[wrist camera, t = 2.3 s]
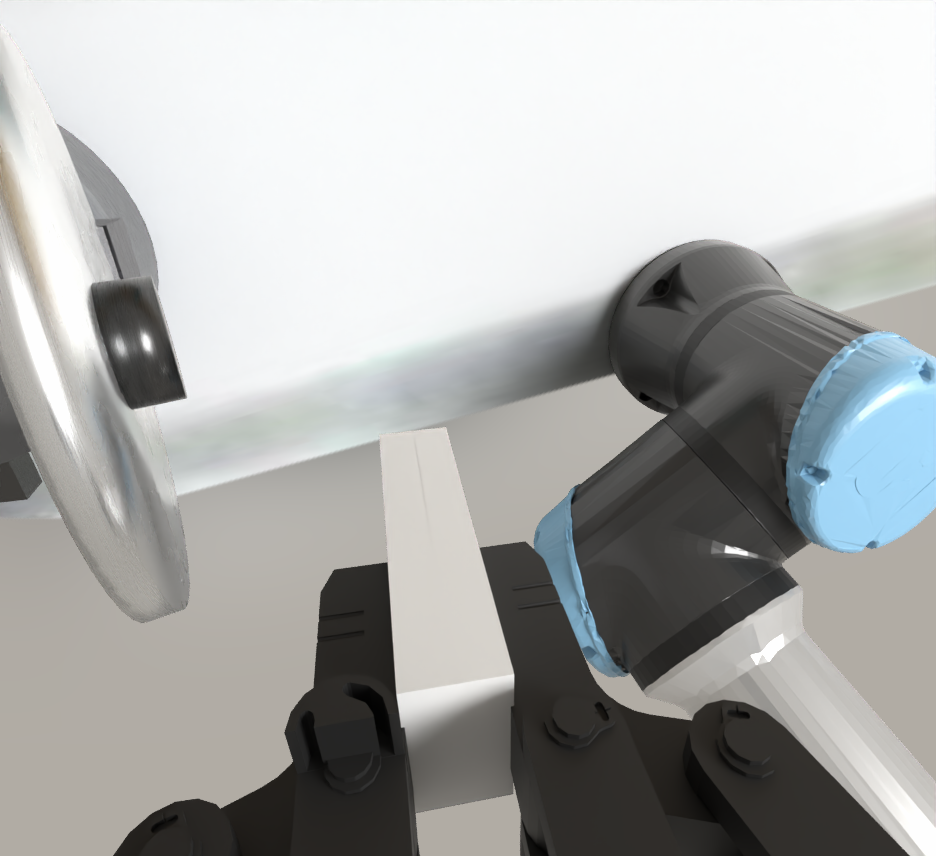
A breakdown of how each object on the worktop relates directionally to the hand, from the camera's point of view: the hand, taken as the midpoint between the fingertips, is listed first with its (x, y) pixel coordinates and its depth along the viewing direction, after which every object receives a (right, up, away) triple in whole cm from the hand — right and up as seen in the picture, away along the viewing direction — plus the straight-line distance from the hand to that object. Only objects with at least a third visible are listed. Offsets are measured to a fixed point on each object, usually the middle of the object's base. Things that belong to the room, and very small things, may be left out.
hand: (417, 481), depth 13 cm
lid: (-14, +4, +9) cm, 17 cm away
